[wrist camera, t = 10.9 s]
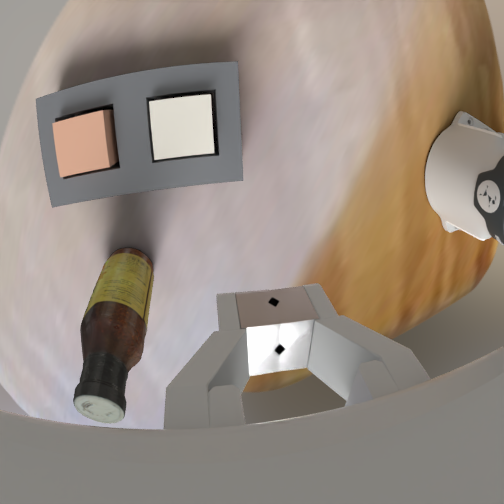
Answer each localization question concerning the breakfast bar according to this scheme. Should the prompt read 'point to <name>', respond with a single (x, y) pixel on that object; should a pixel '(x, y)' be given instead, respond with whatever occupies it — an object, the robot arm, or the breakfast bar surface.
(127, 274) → the sauce bottle
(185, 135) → the cream key
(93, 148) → the terracotta key
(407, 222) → the breakfast bar surface
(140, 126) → the keypad
